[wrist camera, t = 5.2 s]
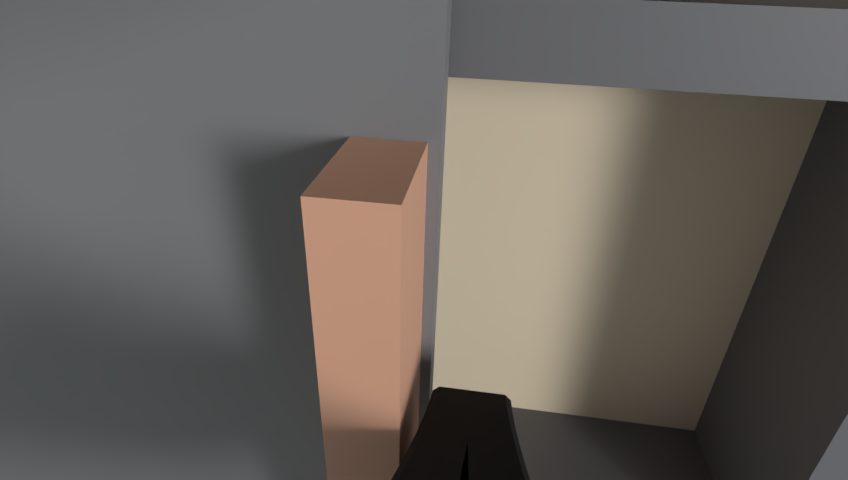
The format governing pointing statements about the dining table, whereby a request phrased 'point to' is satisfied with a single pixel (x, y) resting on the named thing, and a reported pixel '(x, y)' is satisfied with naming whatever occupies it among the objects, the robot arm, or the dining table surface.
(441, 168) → the mailer lid
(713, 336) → the box
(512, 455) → the robot arm
